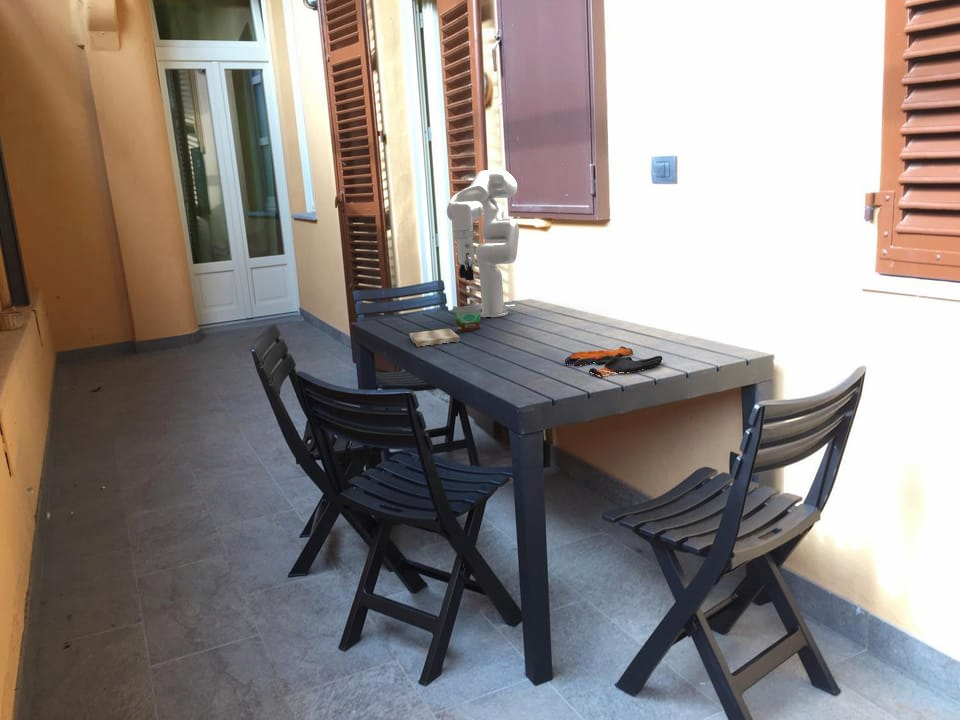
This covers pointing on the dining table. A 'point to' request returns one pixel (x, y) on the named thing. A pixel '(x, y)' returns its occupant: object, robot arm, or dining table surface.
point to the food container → (467, 317)
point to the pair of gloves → (612, 361)
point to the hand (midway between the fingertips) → (466, 278)
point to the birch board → (434, 337)
